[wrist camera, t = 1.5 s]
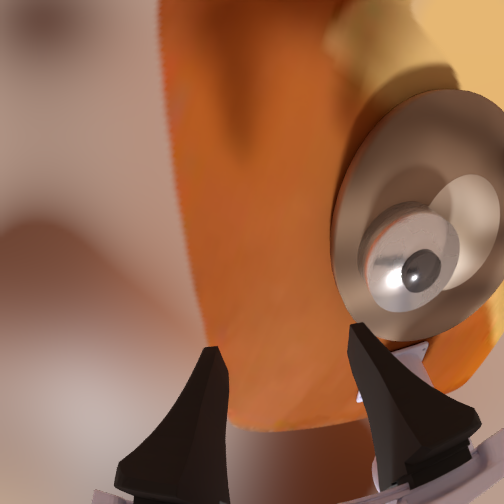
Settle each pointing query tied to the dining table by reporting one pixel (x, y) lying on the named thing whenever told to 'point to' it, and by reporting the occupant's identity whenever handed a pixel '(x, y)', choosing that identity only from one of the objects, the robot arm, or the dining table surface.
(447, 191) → the turntable
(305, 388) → the dining table surface
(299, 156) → the dining table surface
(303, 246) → the dining table surface
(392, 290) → the cover
